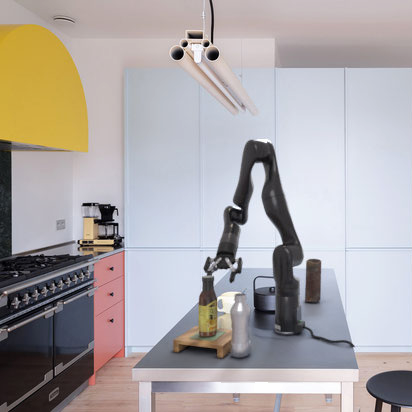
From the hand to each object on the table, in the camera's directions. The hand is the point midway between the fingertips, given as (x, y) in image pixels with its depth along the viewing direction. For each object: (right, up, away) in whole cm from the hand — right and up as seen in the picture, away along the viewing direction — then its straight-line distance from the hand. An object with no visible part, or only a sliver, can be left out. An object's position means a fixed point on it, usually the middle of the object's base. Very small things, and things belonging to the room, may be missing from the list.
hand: (219, 281), depth 154 cm
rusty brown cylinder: (+35, -17, +42) cm, 58 cm away
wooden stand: (-1, -20, -13) cm, 24 cm away
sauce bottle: (-1, -16, -13) cm, 21 cm away
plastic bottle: (+11, -20, -21) cm, 31 cm away
